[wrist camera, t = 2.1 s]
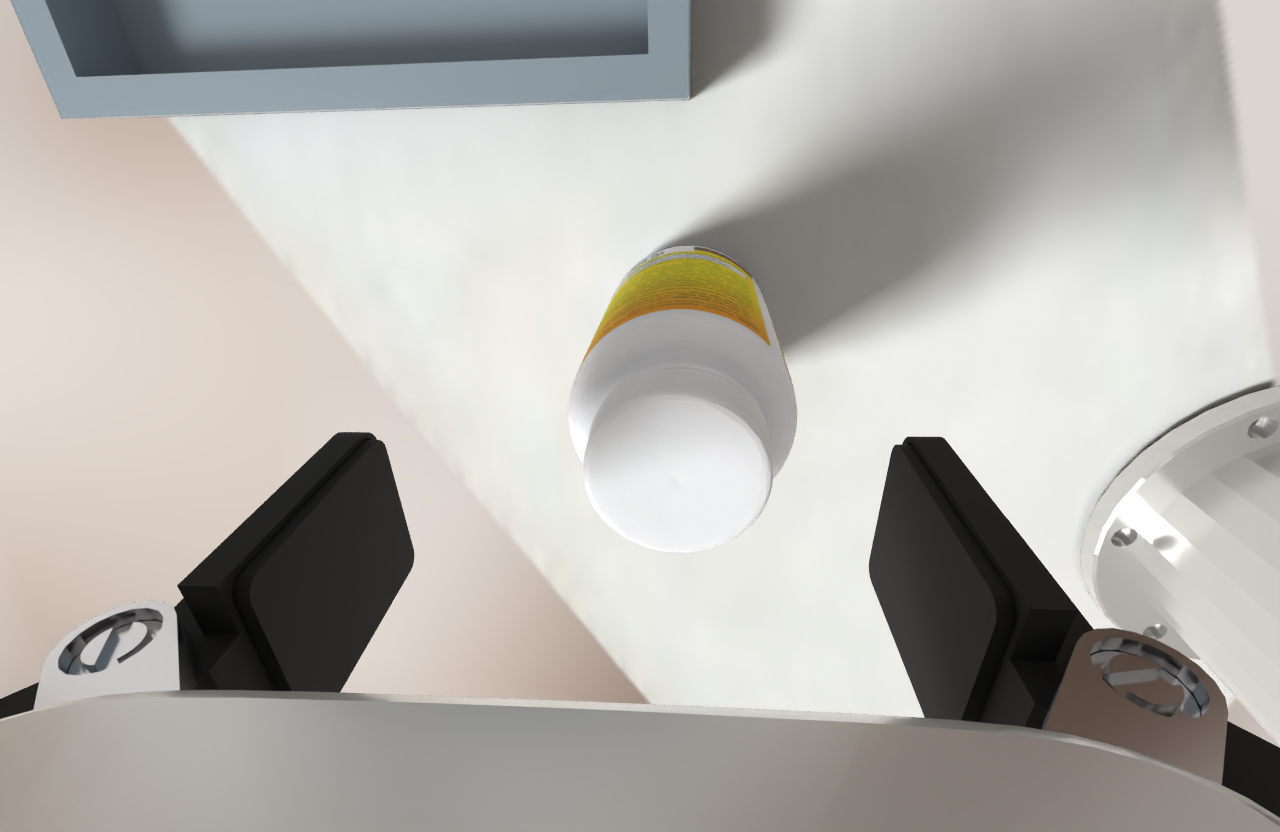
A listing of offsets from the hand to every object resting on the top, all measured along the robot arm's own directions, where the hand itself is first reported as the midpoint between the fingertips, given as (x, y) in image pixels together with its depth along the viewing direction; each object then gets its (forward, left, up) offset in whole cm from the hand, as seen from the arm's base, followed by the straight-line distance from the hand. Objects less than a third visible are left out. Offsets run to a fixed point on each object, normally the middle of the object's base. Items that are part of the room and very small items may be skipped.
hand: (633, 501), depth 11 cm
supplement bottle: (-1, 0, -12) cm, 12 cm away
